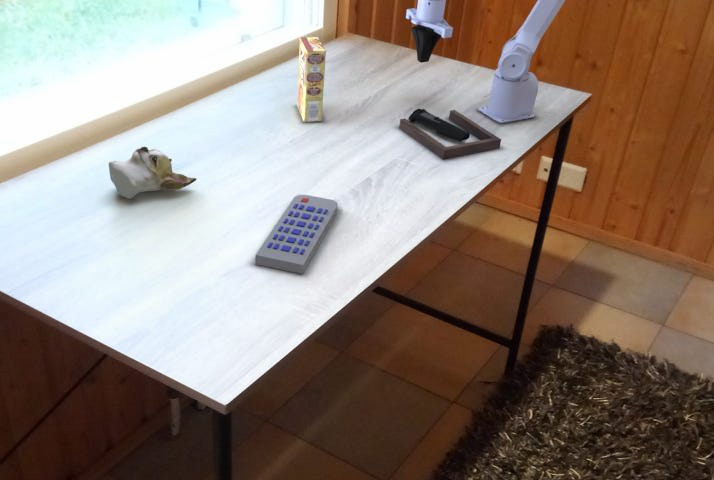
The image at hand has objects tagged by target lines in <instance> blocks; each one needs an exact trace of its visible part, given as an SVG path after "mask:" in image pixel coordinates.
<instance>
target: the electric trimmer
mask: <svg viewBox="0 0 714 480" xmlns="http://www.w3.org/2000/svg"><path fill="white" fill-rule="evenodd" d="M407 120H408V121H410V122H411V123H417V124H420V125H422V126H424V127H426V128H428V129H430V130H433V131H434V132H435V133H436V134H437V135H438V136H442V137H444V138H448V139H450V140H454V141H456V142H464V141H468V139H470V135H471V133H469V132H468V131H466V130H465V129H463V128H462V127H460V126H458V125H456V124H453V123H452V122H449V121H447V120H444V119H442V118H440V117H439V116H436V115H434V114H432V113H430V112H428V111H427V110H426V109H425V108H416V109H415V110H413V111H412V113H411V114H410V115H409V116H408V118H407Z"/></svg>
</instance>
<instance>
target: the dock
mask: <svg viewBox="0 0 714 480" xmlns="http://www.w3.org/2000/svg"><path fill="white" fill-rule="evenodd" d="M448 120H449V121H450V122H451V123H454V125H456V126H457V127H459V128H461V129H463V130H465V131H467V132H469V133H470V135H472V136H474V137H475V138H477V139H478V140H476V141H475V140H474V141H470V142H465V143H459V144H454V145H448V146H445V145H444V144H442V143H441V142H440V141H438V140H437V139H436V138H434V137H433V136H431V135H430V134H428V133H427V132H426V131H424V130H422V129H421V128H419V127H418V126H417V125H415V124H414V123H413V122H410V121H409V120H408V118H400V119H399V127H398V128H399V130H401V131H403V132H404V133H406V134H407V135H408V136H409V137H411V138H413V139H414V140H415V141H417V142H418V143H419V144H420V145H422V146H424V147H425V148H427V149H428V150H429V151H431V152H432V153H433V154H434V155H436V156H437V157H438V158H440V159H441V160H448V159H453V158H458V157H463V156H467V155H473V154H479V153H483V152H488V151H493V150H498V149H500V146H501V142H502V138H500V137H499V136H497V135H495V134H494V133H492V132H490V131H489V130H488V129H486V128H484V127H483V126H482V125H480V124H478V123H477V122H474V121H473V120H472V119H470V118H468V117H467V116H465V115H463V114H462V113H460V112H459V111H458V110H456V109H451V110H449V114H448Z"/></svg>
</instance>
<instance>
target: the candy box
mask: <svg viewBox="0 0 714 480" xmlns="http://www.w3.org/2000/svg"><path fill="white" fill-rule="evenodd" d="M298 52H299V54H298V75H297V76H298V77H297V78H298V79H297V109H298V111H299V114H300V117H301V118H302V121H303V122H305V123H311V122H313V123H314V122H322V121H323V104H324V103H323V102H324V87H325V72H326V71H325V70H326V54H327V51H326V49H325V46H324V45H323V43H322V42H321V40H320V38H319V37H318V36H313V37H312V36H311V37H310V36H308V37H307V36H306V37H304V36H303V37H300V38H299V51H298Z"/></svg>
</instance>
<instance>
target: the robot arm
mask: <svg viewBox="0 0 714 480" xmlns="http://www.w3.org/2000/svg"><path fill="white" fill-rule="evenodd" d="M565 2H566V0H537V1H536V2H535V4H534V5H533V7H532V9H531V11H530V13H529V14H528V16H527V17H526V19H525V20H524V22H523V24H522V25H521V26H520V27H519V29H518V30H517V32H516V33H515V35H514V36H513V37H512V38H510V39H508V40H507V41H506V42H505V43H504V44H503V46H502V48H501V56H500V58H499V60H498V63H497V68H496V69H495V70H494V74H493V78H492V85H491V89H490V93H489V98H488V99H489V100H488V104H487V106H483V107H479V108H478V111H479V112H481V113H482V114H484V115H486V116H487V117H488V118H490V119H492V120H493V121H495V122H497V123H498V124H506V123H511V122H515V121H521V120H528V119H531V118H533V119H534V118H535V116H536V115H535V114H534V108H535V103H536V100H537V95H538V92H539V81H538V77H537V76H536V74H534V73H533V72H531V71H529V69H530V67H531V59H532V58H533V55H534V54H535V52H536V50H537V48H538V46H539V44H540V42H541V40H542V38H543V37H544V35H545V33H546V31H548V28H549V27H550V25H551V24H552V22H553V21H554V19H555V18H556V16H557V14H558V13H559V11H560V10H561V8H562V6H563V5H564V3H565ZM446 3H447V0H417V5H416V6H417V7H416V8H415V7H413V8H407V9H406V14H405V19H407V20H410V22H411V24H413V25H416V26H412V27H411V33H412V35H413V38H414V42H415V49H416V60H417V62H419V63H428V62H429V61H430V59H431V57H432V54H433V52H434V49H435V47H436V46H437V44H438V42H439V41H440V40H441V38H442V39H448V38H449V39H450V38H452V37H453V32H454V31H453V30H454V27H453V26H452V25H449V23H448V22H447V21H446V20H445V18H444V15H445V11H446V10H445V9H446Z"/></svg>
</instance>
